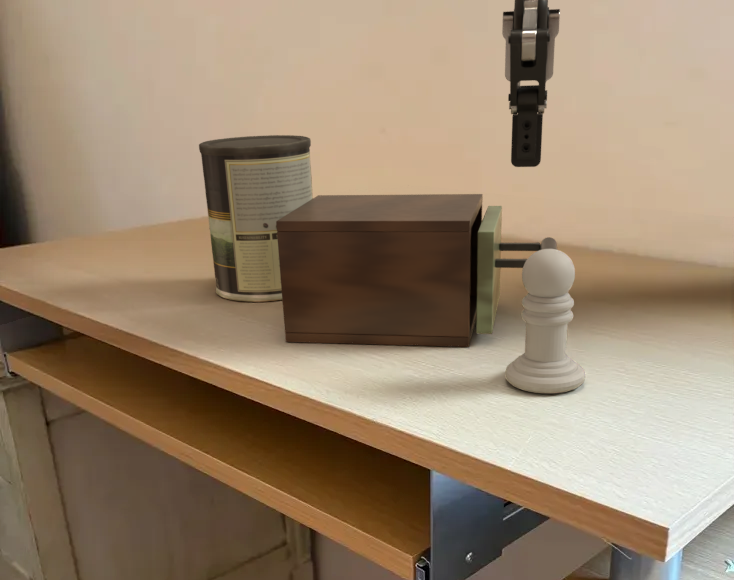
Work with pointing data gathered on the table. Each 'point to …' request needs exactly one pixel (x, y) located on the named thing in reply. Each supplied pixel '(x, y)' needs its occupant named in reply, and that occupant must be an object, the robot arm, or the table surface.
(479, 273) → the drawer
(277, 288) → the coffee can
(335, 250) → the cabinet
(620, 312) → the table surface
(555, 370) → the chess piece
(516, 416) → the table surface
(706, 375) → the table surface
